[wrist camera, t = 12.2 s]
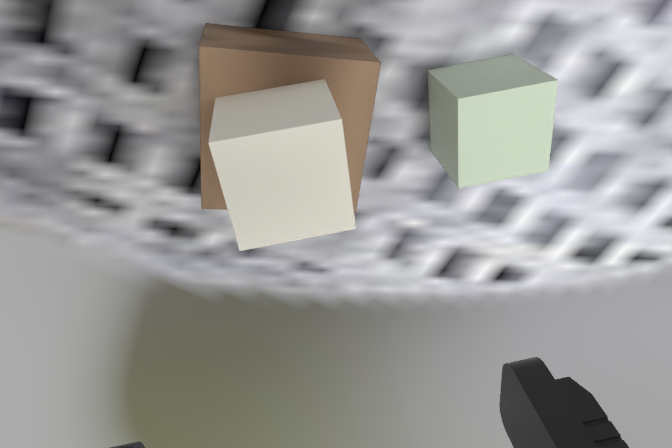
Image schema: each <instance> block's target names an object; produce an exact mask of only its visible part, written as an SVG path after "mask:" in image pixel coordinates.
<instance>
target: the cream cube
mask: <svg viewBox="0 0 672 448" xmlns="http://www.w3.org/2000/svg"><path fill="white" fill-rule="evenodd" d="M208 143H209V147H210V150H211V154H212V157H213V161H214V164H215V167H216V171H217V174H218V178H219V181H220V185H221V188H222V192H223V195H224V198H225V202H226V205H227V209H228V212H229V216H230V219H231V223H232V226H233V229H234V233H235V236H236V240H237V243H238V247H239V250H240V251H243V250H248V249H253V248H259V247H264V246H269V245H274V244H280V243H285V242H290V241H295V240H301V239H306V238H311V237H316V236H322V235H327V234H332V233H338V232H343V231H348V230H353V229H356V226H355V218H354V210H353V202H352V194H351V186H350V179H349V171H348V163H347V155H346V147H345V139H344V131H343V124H342V118H341V116H340V113H339V111H338V109H337V106H336V104H335V102H334V99H333V97H332V95H331V92H330V90H329V88H328V85H327V83H326V81H325V79H322V80H316V81H311V82H305V83H299V84H293V85H288V86H282V87H276V88H270V89H265V90H259V91H253V92H247V93H241V94H236V95H230V96H224V97H218V98H215V104H214V110H213V116H212V123H211V129H210V136H209V142H208Z"/></svg>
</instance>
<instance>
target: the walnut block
mask: <svg viewBox="0 0 672 448" xmlns="http://www.w3.org/2000/svg"><path fill="white" fill-rule="evenodd" d="M380 65H381V62H380V61H379V60H378V58H377V57H376V56H375V55H374V54H373V52H372V51H371V50H370V49H369V47H368V46H367V45H366V44H365V43H364V41H363V40H362V39H360V38H350V37H340V36H330V35H320V34H309V33H299V32H289V31H279V30H269V29H259V28H249V27H238V26H228V25H218V24H208V23H206V26H205V29H204V32H203V35H202V38H201V41H200V44H199V83H200V144H201V205H202V209H227V205H226V202H225V198H224V195H223V192H222V188H221V185H220V181H219V178H218V174H217V171H216V167H215V164H214V161H213V157H212V154H211V150H210V147H209V143H208V142H209V136H210V129H211V123H212V116H213V110H214V104H215V98H218V97H224V96H230V95H236V94H241V93H247V92H253V91H259V90H265V89H270V88H276V87H282V86H288V85H293V84H299V83H305V82H311V81H316V80H322V79H325V81H326V83H327V85H328V88H329V90H330V92H331V95H332V97H333V99H334V102H335V104H336V106H337V109H338V111H339V113H340V116H341V118H342V124H343V131H344V139H345V147H346V155H347V163H348V171H349V179H350V186H351V194H352V202H353V210H354V213H356V208H357V202H358V196H359V190H360V184H361V178H362V172H363V166H364V160H365V155H366V149H367V143H368V137H369V131H370V125H371V119H372V113H373V107H374V101H375V95H376V89H377V83H378V77H379V71H380Z"/></svg>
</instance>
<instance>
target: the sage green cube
mask: <svg viewBox="0 0 672 448" xmlns="http://www.w3.org/2000/svg"><path fill="white" fill-rule="evenodd" d="M557 84H558V80H557V79H555V78H554V77H552V76H550V75H549V74H547V73H545V72H543V71H542V70H540V69H538V68H537V67H535V66H533V65H531V64H530V63H528V62H526V61H525V60H523V59H521V58H519V57H518V56H516V55H514V54H511V55H506V56H500V57H495V58H490V59H484V60H479V61H474V62H468V63H463V64H457V65H452V66H447V67H441V68H436V69H431V70H428V95H429V121H430V146H431V152H432V153H433V154H434V156H435V157H436V159H437V160H438V161H439V163H440V164H441V165H442V167H443V168H444V170H445V171H446V172H447V174H448V175H449V176H450V178H451V179H452V181H453V182H454V183H455V185H456V186H457V187H458V189H459V188H464V187H469V186H474V185H480V184H485V183H490V182H495V181H500V180H505V179H510V178H515V177H520V176H525V175H530V174H535V173H540V172H545V171H548V169H549V160H550V150H551V141H552V131H553V122H554V112H555V103H556V93H557Z"/></svg>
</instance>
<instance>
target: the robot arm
mask: <svg viewBox="0 0 672 448" xmlns="http://www.w3.org/2000/svg"><path fill="white" fill-rule="evenodd" d="M500 413H501V417H502V421H503V424H504V427H505V430H506V432H507V434H508V436H509V439H510V441H511V443H512V445H513V447H514V448H629V447H628V445H627V444H626V443H625V441H624V440H622V439H621V437H620V434H619V433H618V431H617V430H616V428H615V427H614V425H613V424H612V423H611V421H609V420H608V418H607V415H606V414H605V412H604V411H603V410H602V408H601V407H600V405H599V404H598V402H597V401H596V400H595V398H594V397H593V395H592V394H591V393H590V392H588V391H587V390H586V389H584V388H583V387H582V386H580V385H579V384H578V383H577V382H575V381H574V380H573V379H571V378H570V377H566V378H561V379H556V380H555V379H554V378H553V376H552V374H551V373H550V371H549V370H548V368H547V367H546V365H545V364H544V362H543V361H542V360H541V359H540V358H538V357H534V358H529V359H525V360H520V361H515V362H511V363H506V364H504V365H503V369H502V381H501V394H500ZM111 448H145V447H144V445H143V444H142V443H141V442H134V443H130V444H125V445H120V446H116V447H111Z"/></svg>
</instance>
